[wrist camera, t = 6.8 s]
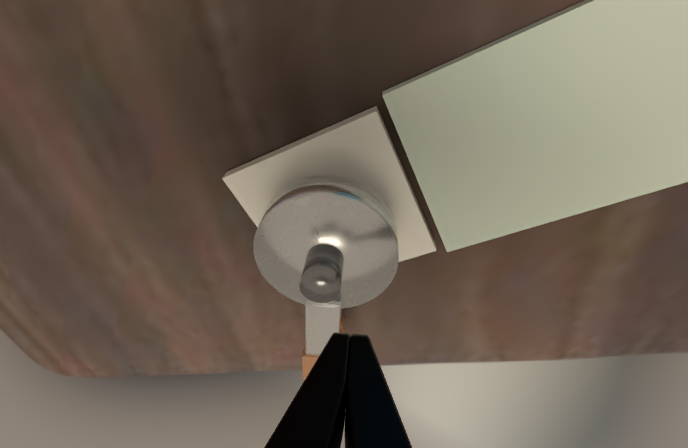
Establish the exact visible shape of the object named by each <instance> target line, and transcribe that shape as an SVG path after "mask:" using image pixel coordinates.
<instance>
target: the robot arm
mask: <svg viewBox="0 0 688 448" xmlns="http://www.w3.org/2000/svg"><path fill="white" fill-rule="evenodd" d="M345 409H346V411H345ZM344 421H345V448H412V446H411V444H410V441H409V439H408V436H407V434H406V431H405V428H404V426H403V423H402V421H401V418H400V416H399V413H398V410H397V408H396V405H395V403H394V400H393V397H392V395H391V392H390V390H389V387H388V385H387V382H386V379H385V377H384V374H383V372H382V369H381V367H380V364H379V361H378V359H377V356H376V354H375V351H374V349H373V346H372V343H371V341H370V338H369V337H368V336H367V335H361V334H352V335H351V339H350V334H348V333H337V332H335V333H333V334H332V336H331V337H330V339H329V341H328V342H327V344H326V346H325V347H324V349H323V351H322V352H321V354H320V356H319V357H318V359H317V361H316V362H315V364H314V366H313V367H312V369H311V371H310V372H309V374H308V376H307V377H306V379H305V381H304V382H303V384H302V386H301V387H300V389H299V391H298V392H297V394H296V396H295V397H294V399H293V401H292V402H291V404H290V406H289V407H288V409H287V411H286V413H285V414H284V416H283V418H282V419H281V421H280V423H279V424H278V426H277V428H276V429H275V432H274V433H273V434H272V436H271V438H270V439H269V441H268V443H267V444H266V446H265V448H340V446H341V441H342V436H343V429H344Z"/></svg>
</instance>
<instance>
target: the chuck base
mask: <svg viewBox="0 0 688 448" xmlns="http://www.w3.org/2000/svg"><path fill="white" fill-rule="evenodd" d="M322 174H324V175H338V176H343V177H347V178H351V179H354V180H356V181H359V182H361V183H363V184H365V185H366V186H368V187H370V188H371V189H373V190H374V191H375V192H377V193H378V194H379V195H380V196H381V197H382V198H383V199H384V201H385V202H386V203H387V204H388V206H389V207H390V209H391V211H392V213H393V215H394V217H395V221H396V225H397V235H398V254H399V261H398V262H400V261H404V260H407V259H411V258H414V257H417V256H421V255H424V254H427V253H431V252H434V251H437V250H436V245H435V241H434V239H433V236H432V234H431V232H430V229H429V227H428V225H427V222H426V220H425V218H424V215H423V213H422V211H421V208H420V206H419V204H418V201H417V199H416V197H415V194H414V192H413V190H412V187H411V185H410V183H409V180H408V178H407V176H406V173H405V171H404V169H403V166H402V164H401V162H400V159H399V157H398V155H397V152H396V150H395V148H394V145H393V143H392V141H391V138H390V136H389V134H388V131H387V129H386V127H385V124H384V122H383V120H382V117H381V115H380V113H379V110H378V108H377V106H375V107H372V108H370V109H368V110H365V111H363V112H361V113H359V114H356V115H354V116H352V117H350V118H347V119H345V120H343V121H341V122H338V123H336V124H334V125H332V126H329V127H327V128H325V129H322V130H320V131H318V132H316V133H313V134H311V135H309V136H307V137H304V138H302V139H300V140H298V141H295V142H293V143H291V144H289V145H286V146H284V147H282V148H279V149H277V150H275V151H273V152H270V153H268V154H266V155H264V156H261V157H259V158H257V159H255V160H252V161H250V162H248V163H245V164H243V165H241V166H239V167H236V168H234V169H232V170H230V171H227V172H226V174H225V175H224V176H223V178H222V179H223V181H224V182H225V183H226V185H227V186H228V187H229V189H230V190H231V192H232V193H233V194H234V196H235V197H236V199H237V200H238V201H239V203H240V204H241V205H242V207H243V208H244V210H245V211H246V212H247V214H248V215H249V217H250V218H251V219H252V221H253V222H254V223H255V225H256V226H257V228H258V226H259V224H260V222H261V220H262V218H263V216H264V213H265V211H266V209H267V207H268V205H269V203H270V201H271V200H272V198H273V197H274V196H275V195H276V194H277V193H278V192H279V191H280V190H281V189H282V188H283V187H285V186H286V185H288V184H289V183H291V182H293V181H295V180H298V179H301V178H303V177H308V176H312V175H322Z"/></svg>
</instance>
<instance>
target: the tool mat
mask: <svg viewBox="0 0 688 448" xmlns="http://www.w3.org/2000/svg"><path fill="white" fill-rule="evenodd" d="M382 96H383V99H384V101H385V103H386V106H387V108H388V111H389V113H390V116H391V118H392V120H393V123H394V125H395V128H396V130H397V132H398V135H399V137H400V140H401V142H402V145H403V147H404V149H405V152H406V154H407V157H408V159H409V161H410V164H411V166H412V169H413V171H414V174H415V176H416V178H417V181H418V183H419V186H420V188H421V190H422V193H423V195H424V198H425V200H426V203H427V205H428V207H429V210H430V212H431V215H432V217H433V219H434V222H435V224H436V227H437V229H438V232H439V234H440V236H441V239H442V241H443V244H444V246H445V248H446V251H447V252H450V251H453V250H457V249H460V248H464V247H467V246H470V245H474V244H477V243H481V242H484V241H487V240H491V239H494V238H498V237H501V236H504V235H508V234H511V233H515V232H518V231H522V230H525V229H528V228H532V227H535V226H539V225H542V224H545V223H549V222H552V221H556V220H559V219H562V218H566V217H569V216H573V215H576V214H580V213H583V212H586V211H590V210H593V209H597V208H600V207H603V206H607V205H610V204H614V203H617V202H621V201H624V200H627V199H631V198H634V197H638V196H641V195H644V194H648V193H651V192H655V191H658V190H661V189H665V188H668V187H672V186H675V185H679V184H682V183H685V182H688V0H584V1H582V2H579V3H577V4H575V5H573V6H571V7H568V8H566V9H564V10H562V11H560V12H557V13H555V14H553V15H551V16H548V17H546V18H544V19H542V20H540V21H537V22H535V23H533V24H531V25H529V26H526V27H524V28H522V29H520V30H518V31H515V32H513V33H511V34H509V35H506V36H504V37H502V38H500V39H498V40H495V41H493V42H491V43H489V44H487V45H484V46H482V47H480V48H478V49H475V50H473V51H471V52H469V53H467V54H464V55H462V56H460V57H458V58H456V59H453V60H451V61H449V62H447V63H444V64H442V65H440V66H438V67H436V68H433V69H431V70H429V71H427V72H425V73H422V74H420V75H418V76H416V77H413V78H411V79H409V80H407V81H405V82H402V83H400V84H398V85H396V86H394V87H391V88H389V89H387V90H385V91H383V92H382Z"/></svg>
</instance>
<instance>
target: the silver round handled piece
mask: <svg viewBox="0 0 688 448" xmlns="http://www.w3.org/2000/svg"><path fill="white" fill-rule="evenodd" d="M253 251H254V257H255V261H256V264H257V266H258V268H259V270H260V272H261V274H262V275H263V276H264V278H265V279H266V280H267V281H268V283H269V284H270V285H271V286H272V287H274V288H275V289H276V290H277V291H278V292H280V293H281V294H283V295H284V296H286V297H288V298H290V299H292V300H294V301H296V302H298V303H301V304H304V305H306V341H305V346H304V351H303V356H302V361H303V380H305V379H306V377H307V376H308V374H309V372H310V371H311V369H312V367H313V366H314V364H315V362H316V361H317V359H318V357H319V356H320V354H321V352H322V351H323V349H324V347H325V346H326V344H327V342H328V341H329V339H330V337H331V336H332V334H333V333H335V332H337V333H344V322H345V317H342V309H343V308H350V307H354V306H358V305H361V304H364V303H366V302H368V301H370V300H372V299H374V298H375V297H377V296H378V295H380V294H381V293H382V292H383V291H384V290H385V289H386V288H387V287H388V286H389V285H390V283H391V282H392V280H393V279H394V276H395V274H396V272H397V268H398V261H399V254H398V235H397V225H396V221H395V217H394V215H393V213H392V211H391V209H390V207H389V206H388V204H387V203H386V202H385V201H384V199H383V198H382V197H381V196H380V195H379V194H378V193H377V192H375V191H374V190H373V189H371V188H370V187H368V186H366V185H365V184H363V183H361V182H359V181H356V180H354V179H351V178H347V177H343V176H338V175H324V174H322V175H312V176H308V177H303V178H301V179H298V180H295V181H293V182H291V183H289V184H288V185H286V186H285V187H283V188H282V189H281V190H280V191H279V192H278V193H277V194H276V195H275V196H274V197H273V198H272V200H271V201H270V203H269V205H268V207H267V209H266V211H265V213H264V216H263V218H262V220H261V222H260V224H259V226H258V229H257V231H256V234H255V237H254V244H253Z"/></svg>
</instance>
